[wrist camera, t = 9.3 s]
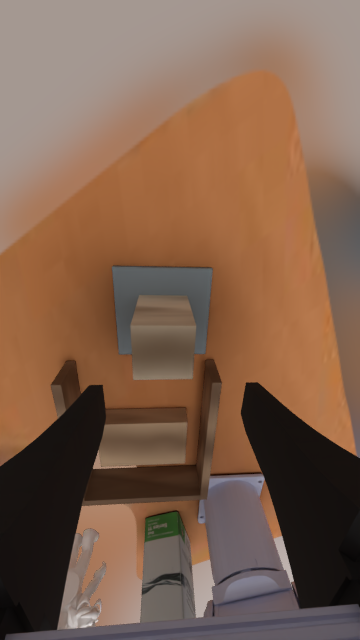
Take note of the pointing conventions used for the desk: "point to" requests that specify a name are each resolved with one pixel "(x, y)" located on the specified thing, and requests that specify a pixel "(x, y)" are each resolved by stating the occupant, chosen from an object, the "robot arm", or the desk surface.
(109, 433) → the walnut open-sided frame
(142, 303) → the maple block
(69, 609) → the white figurine
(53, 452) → the robot arm
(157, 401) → the desk surface
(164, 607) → the ink box
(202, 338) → the slate mat
